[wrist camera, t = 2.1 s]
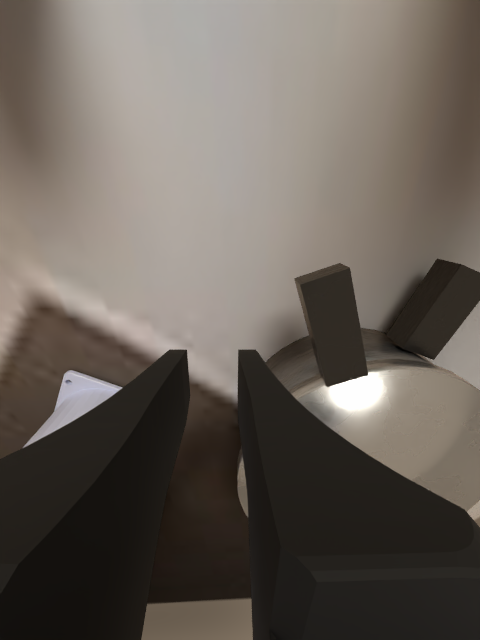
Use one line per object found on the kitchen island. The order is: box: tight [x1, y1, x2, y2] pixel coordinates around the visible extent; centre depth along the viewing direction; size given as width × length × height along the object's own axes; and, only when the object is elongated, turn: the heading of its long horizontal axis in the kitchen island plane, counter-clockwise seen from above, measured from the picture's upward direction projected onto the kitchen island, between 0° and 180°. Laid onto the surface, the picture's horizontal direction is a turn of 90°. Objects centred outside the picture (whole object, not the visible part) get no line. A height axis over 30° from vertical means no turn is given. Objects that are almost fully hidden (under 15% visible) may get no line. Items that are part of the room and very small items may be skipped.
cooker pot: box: [266, 259, 480, 390], centre depth 21 cm, size 24×18×5 cm
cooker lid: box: [237, 263, 480, 517], centre depth 17 cm, size 25×18×3 cm
